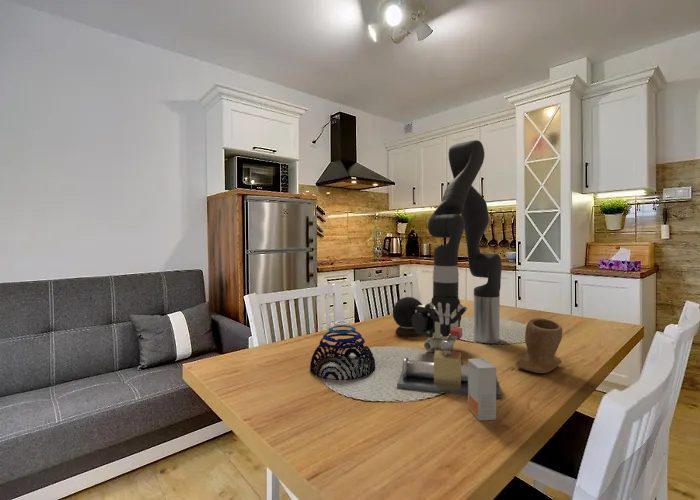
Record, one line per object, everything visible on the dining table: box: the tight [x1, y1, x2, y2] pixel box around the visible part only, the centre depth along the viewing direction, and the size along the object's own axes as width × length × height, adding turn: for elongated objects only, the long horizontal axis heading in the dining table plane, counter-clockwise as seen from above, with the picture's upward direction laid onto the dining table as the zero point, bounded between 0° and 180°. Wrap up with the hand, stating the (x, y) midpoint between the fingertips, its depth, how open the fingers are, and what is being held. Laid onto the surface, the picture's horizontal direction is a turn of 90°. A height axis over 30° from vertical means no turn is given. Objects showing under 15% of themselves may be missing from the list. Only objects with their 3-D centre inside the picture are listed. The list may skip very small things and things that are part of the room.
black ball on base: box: [392, 296, 423, 338], centre depth 151 cm, size 13×13×15 cm
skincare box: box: [467, 357, 497, 422], centre depth 83 cm, size 6×4×12 cm
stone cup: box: [514, 317, 563, 374], centre depth 110 cm, size 15×12×15 cm
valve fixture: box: [396, 350, 502, 400], centre depth 100 cm, size 12×26×10 cm, turn 73°
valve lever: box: [442, 327, 463, 351], centre depth 105 cm, size 16×3×2 cm, turn 153°
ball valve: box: [412, 304, 462, 353], centre depth 128 cm, size 18×8×18 cm, turn 124°
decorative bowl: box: [309, 320, 376, 381], centre depth 114 cm, size 20×20×14 cm
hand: (445, 335), depth 112 cm, fingers closed
